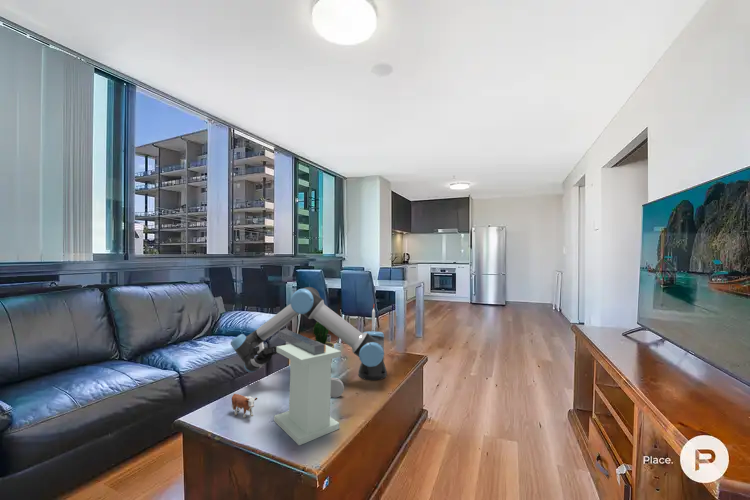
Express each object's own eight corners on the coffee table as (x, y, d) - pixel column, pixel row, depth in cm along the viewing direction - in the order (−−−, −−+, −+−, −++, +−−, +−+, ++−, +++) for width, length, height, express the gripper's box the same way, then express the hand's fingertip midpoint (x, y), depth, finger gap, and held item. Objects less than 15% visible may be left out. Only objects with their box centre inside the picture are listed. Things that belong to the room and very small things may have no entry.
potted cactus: (307, 367, 174) (309, 314, 175) (334, 367, 175) (336, 314, 176) (302, 377, 159) (303, 319, 160) (332, 377, 159) (333, 320, 160)
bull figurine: (249, 422, 114) (250, 400, 115) (228, 412, 121) (229, 392, 122) (259, 417, 118) (260, 396, 118) (238, 408, 125) (239, 388, 125)
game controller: (343, 396, 139) (344, 377, 139) (342, 398, 136) (343, 379, 137) (301, 394, 140) (302, 375, 140) (300, 396, 138) (300, 377, 138)
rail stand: (274, 420, 116) (276, 346, 117) (311, 408, 126) (313, 339, 127) (299, 445, 101) (301, 359, 102) (339, 428, 111) (341, 351, 112)
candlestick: (382, 362, 185) (383, 304, 186) (364, 362, 184) (365, 304, 185) (380, 356, 196) (381, 302, 197) (363, 357, 195) (364, 302, 196)
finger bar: (278, 337, 130) (278, 330, 130) (288, 336, 133) (288, 329, 133) (314, 355, 107) (314, 346, 107) (325, 352, 110) (325, 344, 111)
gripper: (287, 359, 154) (305, 346, 141) (235, 370, 138) (250, 356, 124) (284, 344, 157) (302, 330, 144) (233, 354, 141) (247, 338, 127)
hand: (278, 342), depth 134 cm, fingers open, 13 cm apart
